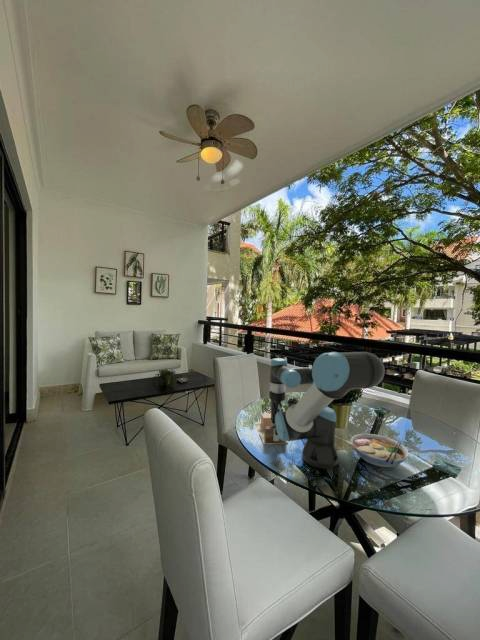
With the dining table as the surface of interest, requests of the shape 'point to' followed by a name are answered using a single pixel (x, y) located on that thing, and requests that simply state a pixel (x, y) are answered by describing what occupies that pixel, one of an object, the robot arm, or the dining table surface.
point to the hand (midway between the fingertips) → (275, 438)
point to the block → (266, 420)
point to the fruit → (292, 402)
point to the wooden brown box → (268, 434)
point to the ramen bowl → (379, 450)
